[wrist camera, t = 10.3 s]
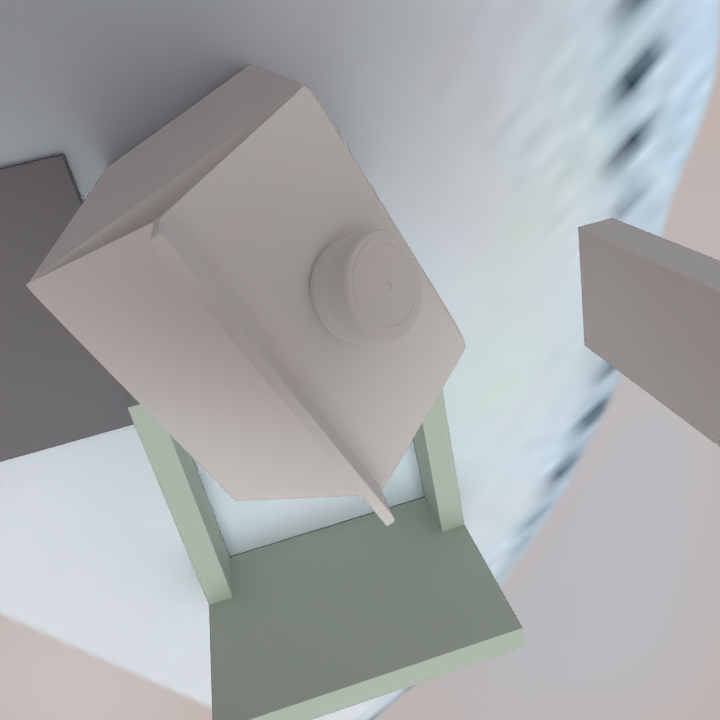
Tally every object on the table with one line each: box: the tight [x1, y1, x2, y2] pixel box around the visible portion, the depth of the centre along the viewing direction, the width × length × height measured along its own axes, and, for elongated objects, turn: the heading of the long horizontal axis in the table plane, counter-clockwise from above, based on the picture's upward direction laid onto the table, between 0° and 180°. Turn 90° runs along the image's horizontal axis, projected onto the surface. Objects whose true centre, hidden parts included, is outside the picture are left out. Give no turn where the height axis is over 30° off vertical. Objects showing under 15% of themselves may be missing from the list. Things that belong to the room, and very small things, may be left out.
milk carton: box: [26, 65, 465, 526], centre depth 20 cm, size 7×7×19 cm
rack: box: [128, 389, 525, 720], centre depth 30 cm, size 13×13×10 cm
